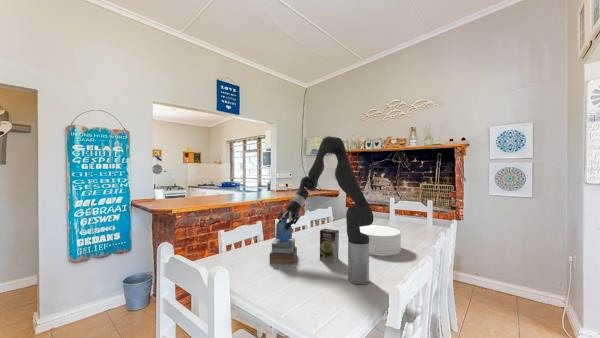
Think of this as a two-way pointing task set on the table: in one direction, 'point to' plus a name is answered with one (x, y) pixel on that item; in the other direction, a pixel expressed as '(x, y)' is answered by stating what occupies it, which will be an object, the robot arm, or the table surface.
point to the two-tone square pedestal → (283, 251)
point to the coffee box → (329, 245)
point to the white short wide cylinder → (382, 239)
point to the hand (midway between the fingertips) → (281, 227)
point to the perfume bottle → (283, 230)
